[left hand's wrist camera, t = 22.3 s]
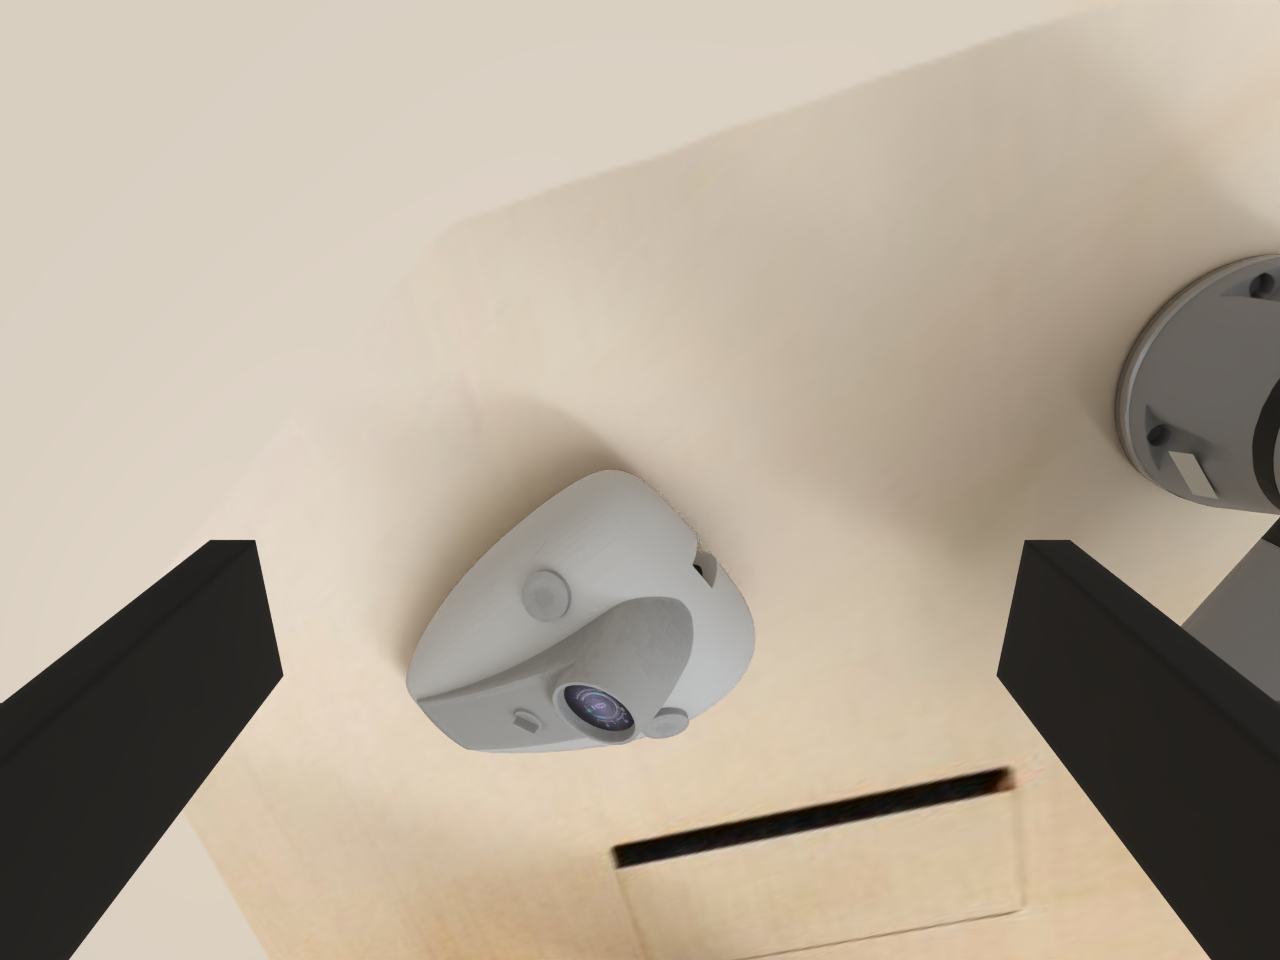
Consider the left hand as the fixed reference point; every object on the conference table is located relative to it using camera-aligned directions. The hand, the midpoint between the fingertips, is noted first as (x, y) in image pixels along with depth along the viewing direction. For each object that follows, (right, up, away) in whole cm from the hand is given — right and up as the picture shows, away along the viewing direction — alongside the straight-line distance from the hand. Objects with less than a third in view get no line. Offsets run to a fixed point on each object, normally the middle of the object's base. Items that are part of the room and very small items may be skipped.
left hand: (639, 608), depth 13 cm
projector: (-5, -7, +38) cm, 39 cm away
